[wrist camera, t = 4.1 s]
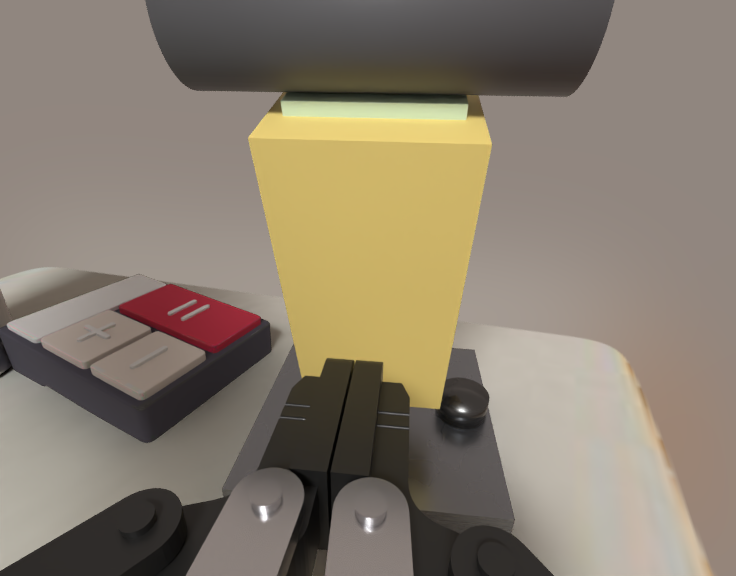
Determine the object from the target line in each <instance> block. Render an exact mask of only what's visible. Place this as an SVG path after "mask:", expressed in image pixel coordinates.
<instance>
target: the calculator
mask: <svg viewBox="0 0 736 576" xmlns="http://www.w3.org/2000/svg"><path fill="white" fill-rule="evenodd" d="M0 338H1V340H2V343H3V345H4V347H5V350H6V352H7V355H8V357H9V360H10V362H11V364H12V367H13V369H14V370H15V371H17V372H19V373H20V374H22V375H24V376H26V377H28V378H29V379H31V380H33V381H35V382H37V383H38V384H40V385H42V386H48V387H50V388H51V389H53V390H55V391H56V392H58V393H60V394H61V395H63V396H64V397H66V398H68V399H69V400H71V401H73V402H74V403H76V404H78V405H79V406H81V407H82V408H84V409H86V410H87V411H89V412H91V413H92V414H94V415H96V416H97V417H99V418H101V419H103V420H104V421H106V422H108V423H110V424H112V425H113V426H115V427H117V428H119V429H120V430H122V431H124V432H126V433H127V434H129V435H131V436H133V437H135V438H136V439H138V440H140V441H142V442H145V443H148V442H152V441H154V440H155V439H157V438H158V437H159V436H161V435H162V434H163V433H165V432H166V431H167V430H169V429H170V428H171V427H173V426H174V425H175V424H177V423H178V422H179V421H181V420H182V419H183V418H185V417H186V416H187V415H188V414H190V413H191V412H192V411H194V410H195V409H196V408H198V407H199V406H200V405H202V404H203V403H204V402H206V401H207V400H208V399H210V398H211V397H212V396H214V395H215V394H216V393H217V392H219V391H220V390H221V389H223V388H224V387H225V386H227V385H228V384H229V383H231V382H232V381H233V380H235V379H236V378H237V377H239V376H240V375H241V374H242V373H244V372H245V371H246V370H248V369H249V368H250V367H252V366H253V365H254V364H256V363H257V362H258V361H260V360H261V359H262V358H264V357H265V356H266V355H267V354H269V353H270V352H271V336H270V323H269V322H268V321H266V320H263V319H261V317H260V316H258V315H255V314H253V313H250V312H247V311H244V310H242V309H239V308H236V307H233V306H231V305H228V304H225V303H222V302H220V301H217V300H214V299H211V298H209V297H206V296H203V295H201V294H198V293H195V292H192V291H190V290H187V289H184V288H181V287H179V286H176V285H172V284H169V285H168V284H165V283H163V282H160V281H157V280H155V279H152V278H149V277H146V276H144V275H140V274H138V275H134V276H131V277H129V278H126V279H123V280H121V281H118V282H115V283H113V284H110V285H107V286H105V287H102V288H99V289H96V290H94V291H91V292H88V293H86V294H83V295H80V296H78V297H75V298H72V299H70V300H67V301H64V302H62V303H59V304H56V305H54V306H51V307H48V308H46V309H43V310H40V311H38V312H35V313H32V314H30V315H27V316H24V317H21V318H19V319H16V320H13V321H11V322H9V323H7V325H6V326H3V327H1V328H0Z"/></svg>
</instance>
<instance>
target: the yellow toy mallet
mask: <svg viewBox="0 0 736 576" xmlns="http://www.w3.org/2000/svg"><path fill="white" fill-rule="evenodd" d="M613 4H614V0H146V6H147V10H148V14H149V18H150V22H151V25H152V28H153V31H154V34H155V37H156V40H157V42H158V45H159V47H160V49H161V51H162V54H163V56H164V58H165V60H166V62H167V63H168V65H169V66H170V68H171V70H172V71H173V73H174V74H175V75H176V76H177V78H178V79H179V80H180V81H181V82H182V83H183V84H184V85H185V86H187V87H189V88H190V89H192V90H197V91H251V92H283V93H282V95H281V96H280V97H279V99H278V100H277V101H276V103H275V104H274V105H273V107H272V108H271V109H270V110H269V112H268V113H267V114H266V116H265V117H264V118H263V119H262V121H261V122H260V123H259V124H258V126H257V127H256V128H255V130H254V131H253V132H252V134H251V135H250V136H249V138H248V140H249V144H250V149H251V153H252V158H253V162H254V167H255V171H256V176H257V180H258V185H259V189H260V194H261V198H262V203H263V207H264V211H265V216H266V220H267V225H268V229H269V234H270V238H271V243H272V247H273V252H274V256H275V261H276V265H277V270H278V274H279V278H280V283H281V288H282V292H283V296H284V301H285V305H286V310H287V314H288V319H289V323H290V328H291V332H292V337H293V341H294V346H295V350H296V355H297V359H298V364H299V368H300V372H301V377H302V378H303V377H304V376H317V377H320V375H321V372H322V369H323V366H324V363H325V361H326V359H327V358H335V359H348V360H354V361H356V360H363V361H376V362H383V382H393V383H402V384H403V386H404V388H405V390H406V391H407V393H408V395H409V397H410V407H420V408H431V409H440V406H441V401H442V395H443V390H444V385H445V380H446V375H447V370H448V365H449V360H450V355H451V350H452V345H453V340H454V335H455V330H456V325H457V319H458V314H459V309H460V304H461V299H462V294H463V289H464V284H465V279H466V274H467V269H468V263H469V259H470V254H471V248H472V243H473V238H474V233H475V228H476V223H477V218H478V213H479V208H480V202H481V198H482V192H483V187H484V182H485V178H486V172H487V167H488V162H489V157H490V152H491V147H492V143H491V139H490V135H489V132H488V128H487V125H486V121H485V118H484V114H483V110H482V107H481V103H480V100H479V96H478V95H496V96H556V97H566V96H569V95H571V94H572V93H574V92H575V91H576V90H577V89H578V87H579V86H580V85H581V83H582V82H583V80H584V79H585V77H586V76H587V74H588V72H589V70H590V68H591V66H592V64H593V62H594V60H595V58H596V56H597V53H598V51H599V48H600V46H601V43H602V40H603V37H604V34H605V32H606V29H607V25H608V22H609V19H610V16H611V11H612V8H613Z"/></svg>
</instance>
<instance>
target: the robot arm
mask: <svg viewBox="0 0 736 576" xmlns="http://www.w3.org/2000/svg"><path fill="white" fill-rule="evenodd" d="M11 321H13V319H12V317H11V314H10V312H9V310H8V307H7V305H6V302H5V299H4V297H3V294H2V292H1V290H0V328H1V327H3V326H6V325H7V323H9V322H11ZM11 366H12V364H11V362H10V360H9V357H8V355H7V352H6V350H5V347H4V345H3V343H2V340H1V338H0V374H2V373H3V372H4V371H6V370H7V369H8V368H10V367H11ZM409 414H410V397H409V395H408V393H407V391H406V390H405V388H404V386H403V384H402V383H393V382H383V362H376V361H363V360H356V361H354V360H348V359H335V358H327V359H326V361H325V363H324V366H323V369H322V372H321V375H320V377H317V376H304V377H303V378H302V379H301V380H300V381H299V382H298V383H297V384H295V385H294V386H293V387H292V389H291V391H290V393H289V396H288V398H287V401H286V404H285V406H284V408H283V410H282V412H281V415H280V419H278V422H277V424H276V427H275V429H274V431H273V434H272V436H271V438H270V441H269V443H268V445H267V448H266V450H265V453H264V455H263V457H262V460H261V462H260V464H259V467H258V469H257V471H255V472H253V473H251V474H249V475H248V476H246V477H245V478H244V479H242V480H241V481H240V482H239V483H238V484H237V485H236V487H235V488H234V489H233V491H232V493H231V494H230V495H228V496H225V497H223V498H220V499H216V500H211V501H206V502H201V503H196V504H191V505H186V506H182V505H181V502H180V500H179V498H178V497H177V496H176V494H174V493H173V492H171V491H169V490H166V489H161V488H153V489H146V490H142V491H139V492H136V493H134V494H132V495H130V496H128V497H126V498H124V499H122V500H121V501H119V502H117V503H115V504H114V505H112V506H110V507H109V508H107V509H105V510H104V511H102V512H100V513H98V514H97V515H95V516H93V517H92V518H90V519H88V520H86V521H85V522H83V523H81V524H80V525H78V526H76V527H74V528H73V529H71V530H69V531H68V532H66V533H64V534H63V535H61V536H59V537H57V538H56V539H54V540H52V541H51V542H49V543H47V544H45V545H44V546H42V547H40V548H39V549H37V550H35V551H34V552H32V553H30V554H28V555H27V556H25V557H23V558H22V559H20V560H18V561H16V562H15V563H13V564H11V565H10V566H8V567H6V568H4V569H3V570H1V571H0V576H312V572H313V568H314V563H315V558H316V554H317V549H322V550H328V552H327V561H326V569H325V576H554V575H553V574H552V573H551V572H550V571H549V570H548V569H547V568H546V567H545V566H544V565H543V564H542V563H541V562H540V561H539V560H538V559H537V558H536V557H535V556H534V555H533V554H532V553H531V552H530V550H529V549H528V548H527V547H526V546H525V545H524V544H523V543H522V542H521V541H519V540H518V539H517V538H516V537H514V536H513V535H512V534H510V533H508V532H506V531H505V530H502V529H500V528H497V527H493V526H486V525H480V526H474V527H471V528H468V529H466V530H465V531H463V532H462V533H461V534H460V533H457V532H455V531H453V530H451V529H448V528H446V527H444V526H442V525H439V524H438V523H436V522H434V521H432V520H431V519H429V518H428V517H426V516H425V515H424V514H423V513H422V512H421V511H420V510H419V509H418V507H417V506H416V505H415V503H414V501H413V500H412V497H411V495H410V491H409V485H408V472H409Z"/></svg>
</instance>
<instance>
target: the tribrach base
mask: <svg viewBox="0 0 736 576" xmlns="http://www.w3.org/2000/svg"><path fill="white" fill-rule="evenodd" d="M301 379H302V377H301V372H300V368H299V364H298V359H297V355H296V350H295V346H294V344H293V346H292V348H291V350H290V352H289V354H288V356H287V358H286V361H285V363H284V365H283V367H282V369H281V371H280V373H279V375H278V377H277V379H276V381H275V383H274V385H273V387H272V389H271V391H270V393H269V395H268V397H267V399H266V401H265V403H264V405H263V407H262V409H261V411H260V413H259V415H258V417H257V419H256V421H255V423H254V425H253V427H252V430H251V432H250V434H249V436H248V438H247V440H246V442H245V444H244V446H243V448H242V450H241V452H240V454H239V456H238V458H237V460H236V462H235V464H234V466H233V468H232V470H231V472H230V474H229V476H228V478H227V480H226V482H225V484H224V486H223V488H222V491H223V496H224V497H225V496H228V495H230V494H231V493H232V491H233V489H234V488H235V487H236V485H237V484H238V483H239V482H240V481H241V480H242V479H244V478H245V477H246V476H248V475H249V474H251V473H253V472H255V471H257V469H258V467H259V464H260V462H261V460H262V457H263V455H264V453H265V450H266V448H267V445H268V443H269V441H270V438H271V436H272V434H273V431H274V429H275V427H276V424H277V422H278V419H280V415H281V412H282V410H283V408H284V406H285V404H286V401H287V398H288V396H289V393H290V391H291V389H292V387H293V386H294V385H295V384H297V383H298V382H299V381H300V380H301ZM488 403H489V394H488V392H487V390H486V389H485V388H484V387H483V384H482V380H481V375H480V371H479V367H478V363H477V358H476V354H475V350H470V349H456V348H452V350H451V355H450V360H449V365H448V370H447V375H446V380H445V385H444V390H443V395H442V401H441V406H440V409H431V408H420V407H410V414H409V472H408V485H409V491H410V495H411V497H412V500H413V501H414V503H415V505H416V506H417V507H418V509H419V510H420V511H421V512H422V513H423V514H424V515H425V516H426V517H428V518H429V519H431V520H432V521H434V522H436V523H438V524H439V525H442V526H444V527H446V528H448V529H451V530H453V531H455V532H457V533H460V534H461V533H462V532H463V531H465V530H466V529H468V528H471V527H474V526H480V525H486V526H493V527H497V528H500V529H502V530H505V531H506V532H508V533H510V534H511V532H512V528H513V524H514V515H513V511H512V507H511V503H510V498H509V494H508V490H507V486H506V481H505V477H504V473H503V469H502V464H501V460H500V456H499V452H498V447H497V443H496V439H495V435H494V430H493V426H492V422H491V418H490V414H489V409H488Z"/></svg>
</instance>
